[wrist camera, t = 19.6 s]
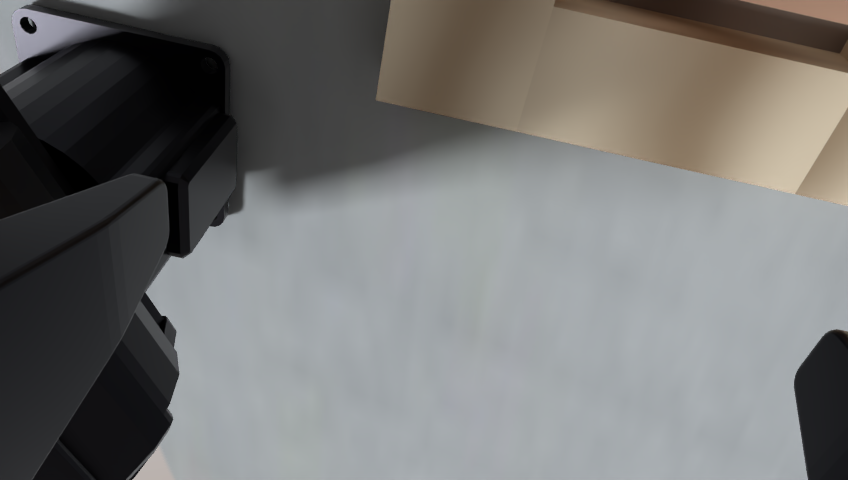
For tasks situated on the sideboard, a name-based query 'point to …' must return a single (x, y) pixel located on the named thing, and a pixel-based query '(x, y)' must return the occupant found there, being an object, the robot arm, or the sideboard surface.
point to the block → (811, 8)
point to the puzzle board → (638, 81)
